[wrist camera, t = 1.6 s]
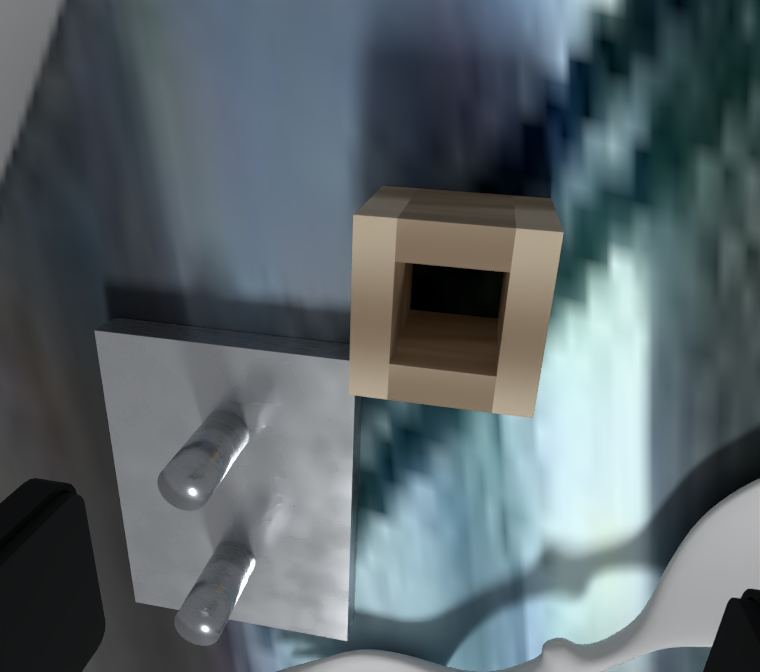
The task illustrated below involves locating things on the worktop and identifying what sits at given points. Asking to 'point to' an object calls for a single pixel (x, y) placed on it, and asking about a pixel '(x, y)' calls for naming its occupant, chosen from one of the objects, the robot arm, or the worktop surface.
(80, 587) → the robot arm
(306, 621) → the housing plate
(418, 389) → the hollow wooden block
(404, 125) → the worktop surface
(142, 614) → the worktop surface
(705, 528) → the spoon
